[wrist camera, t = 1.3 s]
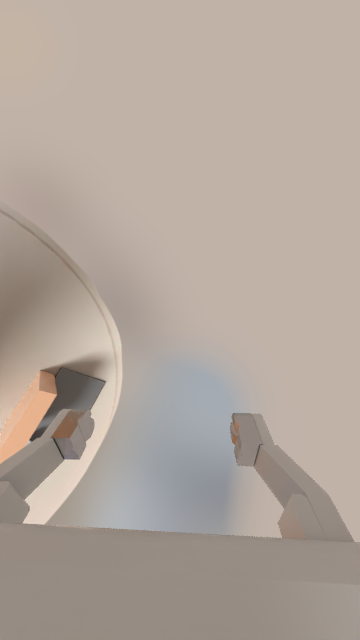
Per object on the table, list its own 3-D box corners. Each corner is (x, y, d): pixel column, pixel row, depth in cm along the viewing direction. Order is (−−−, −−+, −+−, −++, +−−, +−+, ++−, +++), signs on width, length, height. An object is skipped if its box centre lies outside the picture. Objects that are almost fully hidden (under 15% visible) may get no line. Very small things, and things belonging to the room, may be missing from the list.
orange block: (4, 424, 37) (-10, 464, 28) (40, 370, 40) (38, 390, 31) (20, 426, 39) (13, 465, 29) (54, 374, 42) (57, 394, 32)
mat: (14, 441, 38) (14, 442, 38) (61, 367, 43) (61, 368, 42) (68, 446, 45) (68, 447, 44) (104, 381, 49) (105, 382, 49)
